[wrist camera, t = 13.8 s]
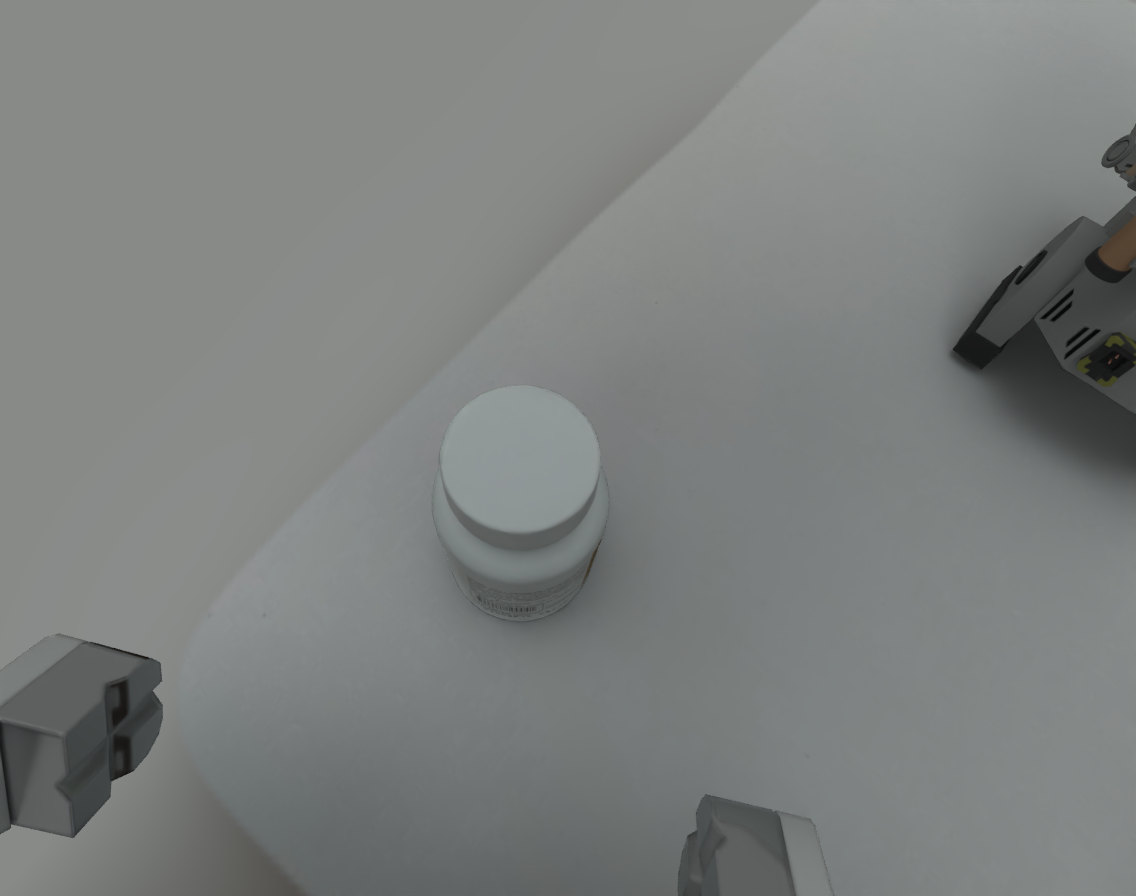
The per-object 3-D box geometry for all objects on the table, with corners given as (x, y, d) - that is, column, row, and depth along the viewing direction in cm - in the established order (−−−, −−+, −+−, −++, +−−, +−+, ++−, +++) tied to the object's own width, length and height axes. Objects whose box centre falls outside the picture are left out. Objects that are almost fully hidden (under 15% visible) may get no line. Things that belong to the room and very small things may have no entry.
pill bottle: (618, 575, 21) (665, 487, 14) (495, 651, 20) (480, 597, 13) (545, 463, 23) (555, 332, 16) (425, 528, 22) (378, 419, 15)
